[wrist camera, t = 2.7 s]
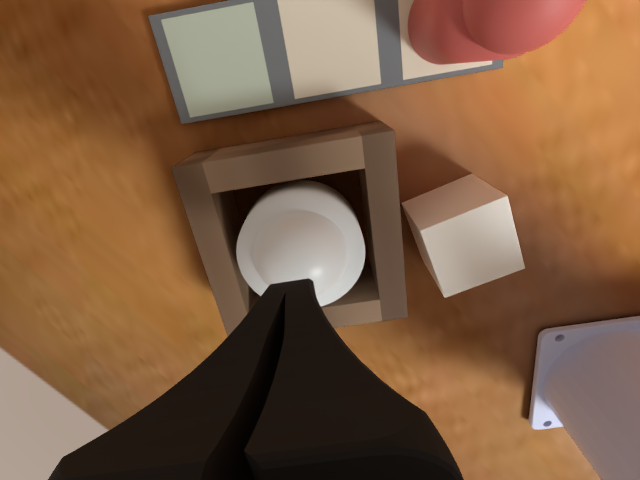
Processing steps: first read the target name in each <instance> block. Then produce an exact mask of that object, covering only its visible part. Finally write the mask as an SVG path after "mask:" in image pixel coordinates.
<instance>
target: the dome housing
mask: <svg viewBox="0 0 640 480" xmlns="http://www.w3.org/2000/svg"><path fill="white" fill-rule="evenodd" d="M357 169H358V170H359V178H360V186H361V195H362V203H363V211H364V220H365V228H366V236H367V245H368V253H369V262H370V267H368V268H363V269H362V272H361V274H360V276H359V278H358V280H357V281H356V283H355V284H354V285H353V287H352V288H351V289H350V290H349V291H348V292H347V293H346V294H344V295H343V296H342V297H341V298H339V299H337V300H336V301H334V302H332V303H329V304H327V305H324V306H321V308H322V310H323V312H324V314H325V316H326V317H327V319H328V321H329V322H330V324H331V325H332V327H333V328H338V327H345V326H352V325H359V324H366V323H373V322H380V321H387V320H394V319H401V318H408V308H407V294H406V281H405V268H404V254H403V241H402V227H401V214H400V200H399V187H398V173H397V160H396V146H395V133H394V130H393V129H391V128H390V127H389V126H387V125H386V124H384V123H383V122H381V121H377V122H371V123H365V124H359V125H353V126H348V127H342V128H336V129H330V130H324V131H318V132H312V133H307V134H301V135H295V136H289V137H283V138H277V139H272V140H266V141H260V142H254V143H248V144H242V145H236V146H231V147H225V148H219V149H213V150H207V151H201V152H196V153H193V154H192V155H190V156H189V157H187V158H186V159H184V160H183V161H181V162H180V163H178V164H177V165H175V166H174V167H172V168H171V170H172V173H173V176H174V179H175V182H176V185H177V188H178V191H179V194H180V197H181V200H182V203H183V206H184V209H185V212H186V215H187V218H188V220H189V223H190V226H191V229H192V232H193V235H194V238H195V241H196V244H197V247H198V250H199V253H200V256H201V259H202V262H203V265H204V268H205V271H206V274H207V277H208V280H209V282H210V285H211V288H212V291H213V294H214V297H215V300H216V303H217V306H218V309H219V312H220V315H221V318H222V321H223V324H224V327H225V330H226V333H227V336H229V335H230V334H231V333H232V331H233V330H234V329H235V328H236V327H237V326H238V325H239V324H240V322H241V321H242V320H243V319H244V317H245V316H246V315H247V314H248V312H249V311H250V310H251V309H252V307H253V306H254V305H255V303H256V302H257V301H258V299H259V298H260V297H261V296H260V295H259V294H257V293H256V292H255V291H254V290H253V289H252V288H251V287H250V286H249V285H248V283H247V282H246V280H245V279H244V277H243V275H242V273H241V271H240V269H239V266H238V261H237V254H236V248H237V240H238V236H239V233H240V231H241V228H242V224H241V221H240V217H239V213H238V210H237V206H236V202H235V199H234V195H233V191H232V190H236V189H242V188H248V187H254V186H260V185H266V184H272V183H278V182H284V181H290V180H296V179H303V178H309V177H315V176H321V175H327V174H333V173H339V172H345V171H351V170H357Z"/></svg>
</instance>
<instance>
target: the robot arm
mask: <svg viewBox="0 0 640 480" xmlns="http://www.w3.org/2000/svg"><path fill="white" fill-rule="evenodd" d="M558 335H559V336H558ZM556 336H557V337H556ZM529 424H530V425H531V427H532V428H533V429H536V430H539V429H548V428H556V427H564V428H565V429H566V431H567V432H568V433H569V435H570V436H571V438H572V439H573V441H574V442H575V443H576V445H577V446H578V448H579V449H580V450H581V452H582V453H583V455H584V456H585V457H586V459H587V460H588V462H589V463H590V464H591V466H592V467H593V469H594V470H595V471H596V473H597V474H598V476H599V477H600V478H601V480H640V316H635V317H627V318H620V319H613V320H606V321H598V322H591V323H584V324H576V325H569V326H562V327H555V328H548V329H544V330H543V331H541V332H540V333H539V336H538V342H537V351H536V360H535V369H534V378H533V387H532V396H531V404H530V413H529ZM48 480H463V477H462V474H461V472H460V470H459V467H458V465H457V463H456V462H455V460H454V458H453V456H452V454H451V452H450V450H449V448H448V446H447V445H446V443H445V441H444V440H443V438H442V437H441V435H440V433H439V432H438V430H437V429H436V427H435V426H434V424H433V423H432V421H431V420H430V418H429V417H428V415H427V414H426V413H425V412H424V411H423V410H421V409H420V408H418V407H417V406H415V405H414V404H412V403H411V402H409V401H408V400H406V399H405V398H404V397H402V396H401V395H400V394H398V393H397V392H396V391H394V390H393V389H392V388H391V387H389V386H388V385H387V384H386V383H384V382H383V381H382V380H381V379H379V378H378V377H377V376H376V375H375V374H374V373H373V372H372V371H371V370H370V369H369V368H368V367H367V366H365V365H364V364H363V363H362V362H361V361H360V360H359V359H358V358H357V357H356V355H355V354H354V353H353V352H352V351H351V350H350V349H349V348H348V346H347V345H346V344H345V343H344V342H343V340H342V339H341V338H340V337H339V335H338V334H337V332H336V331H335V330H334V328H333V327H332V325H331V324H330V322H329V321H328V319H327V317H326V316H325V314H324V312H323V310H322V308H321V306H320V304H319V302H318V300H317V298H316V293H315V288H314V283H313V281H312V280H311V279H309V278H308V279H301V280H295V281H288V282H281V283H275V284H270V285H269V286H268V288H267V289H266V290H265V292H264V293H263V294H262V295H261V297H260V298H259V299H258V301H257V302H256V303H255V305H254V306H253V307H252V309H251V310H250V311H249V312H248V314H247V315H246V316H245V317H244V319H243V320H242V321H241V322H240V324H239V325H238V326H237V327H236V328H235V329H234V330H233V331H232V333H231V334H230V335H229V336H228V337H227V338H226V339H225V340H224V342H223V343H222V344H221V345H220V346H219V347H218V348H217V349H216V350H215V351H214V352H213V353H212V354H211V355H210V356H209V357H208V358H206V359H205V360H204V361H203V362H202V363H201V364H200V365H199V366H198V367H197V368H195V369H194V370H193V371H192V372H191V373H190V374H188V375H187V376H186V377H185V378H183V379H182V380H181V381H179V382H178V383H177V384H176V385H174V386H173V387H172V388H171V389H169V390H168V391H167V392H166V393H164V394H163V395H162V396H160V397H159V398H158V399H156V400H155V401H153V402H152V403H151V404H149V405H148V406H146V407H145V408H143V409H142V410H140V411H139V412H137V413H136V414H134V415H133V416H131V417H130V418H128V419H127V420H125V421H124V422H122V423H121V424H119V425H117V426H116V427H114V428H113V429H111V430H109V431H108V432H106V433H104V434H102V435H101V436H99V437H97V438H96V439H94V440H92V441H91V442H89V443H87V444H85V445H84V446H82V447H80V448H79V449H77V450H75V451H73V452H72V453H70V454H68V455H66V456H64V457H63V458H62V459H61V461H60V462H59V464H58V465H57V466H56V468H55V470H54V471H53V473H52V474H51V476H50V477H49V479H48Z"/></svg>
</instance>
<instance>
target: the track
mask: <svg viewBox="0 0 640 480" xmlns="http://www.w3.org/2000/svg"><path fill="white" fill-rule="evenodd" d="M413 2H414V0H228V1H223V2H217V3H212V4H207V5H202V6H197V7H191V8H186V9H181V10H176V11H171V12H166V13H160V14H155V15H150V16H148V18H149V21H150V24H151V27H152V31H153V34H154V37H155V40H156V44H157V47H158V50H159V53H160V56H161V60H162V63H163V66H164V69H165V73H166V76H167V79H168V82H169V85H170V89H171V92H172V95H173V98H174V102H175V105H176V108H177V111H178V114H179V118H180V121H181V124H186V123H191V122H197V121H203V120H208V119H214V118H220V117H226V116H231V115H237V114H243V113H248V112H254V111H260V110H265V109H271V108H277V107H282V106H288V105H294V104H300V103H305V102H311V101H317V100H322V99H328V98H334V97H339V96H345V95H351V94H357V93H362V92H368V91H374V90H379V89H385V88H391V87H396V86H402V85H408V84H413V83H419V82H425V81H431V80H436V79H442V78H448V77H453V76H459V75H465V74H470V73H476V72H482V71H487V70H493V69H499V68H503V60H494V61H481V62H469V63H457V64H444V65H438V64H433V63H430V62H427V61H426V60H424V59H423V58H421V57H420V56H419V55H418V54H417V53H416V51H415V50H414V48H413V47H412V45H411V42H410V39H409V35H408V17H409V12H410V9H411V6H412V4H413Z"/></svg>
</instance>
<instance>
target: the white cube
mask: <svg viewBox="0 0 640 480" xmlns="http://www.w3.org/2000/svg"><path fill="white" fill-rule="evenodd" d="M401 204H402V206H403V209H404V212H405V214H406V217H407V220H408V222H409V225H410V228H411V230H412V233H413V236H414V238H415V241H416V244H417V246H418V249H419V252H420V254H421V257H422V260H423V262H424V264H425V265H426V267H427V269H428V270H429V272H430V274H431V276H432V277H433V279H434V281H435V282H436V284H437V286H438V288H439V289H440V291H441V293H442V294H443V296H444V298H446V297H449V296H452V295H454V294H457V293H460V292H462V291H465V290H468V289H471V288H473V287H476V286H479V285H481V284H484V283H487V282H490V281H492V280H495V279H498V278H501V277H503V276H506V275H509V274H511V273H514V272H517V271H520V270H522V269H525V266H524V262H523V257H522V253H521V249H520V245H519V241H518V237H517V233H516V229H515V224H514V220H513V216H512V212H511V208H510V204H509V200H508V196H507V195H506V194H504V193H502V192H501V191H499V190H498V189H496V188H494V187H493V186H491V185H490V184H488V183H486V182H485V181H483V180H482V179H480V178H478V177H477V176H475V175H474V174H469V175H467V176H465V177H462V178H460V179H457V180H455V181H453V182H450V183H448V184H445V185H443V186H441V187H438V188H436V189H434V190H431V191H429V192H426V193H424V194H422V195H419V196H417V197H414V198H412V199H410V200H407V201H405V202H403V203H401Z"/></svg>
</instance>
